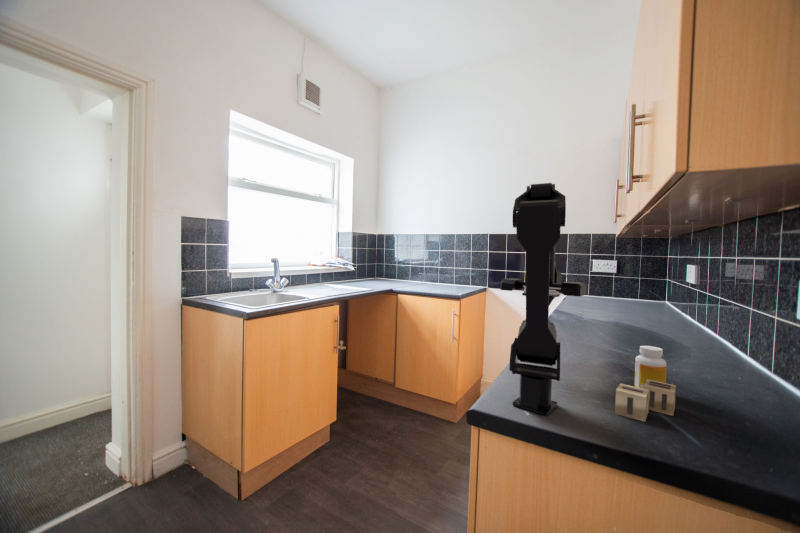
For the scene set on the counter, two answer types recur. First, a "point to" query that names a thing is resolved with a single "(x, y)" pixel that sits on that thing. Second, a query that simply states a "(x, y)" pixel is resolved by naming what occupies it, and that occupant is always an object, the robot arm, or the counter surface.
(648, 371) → the supplement bottle
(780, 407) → the counter surface
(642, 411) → the oak block one
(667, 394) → the birch block two
